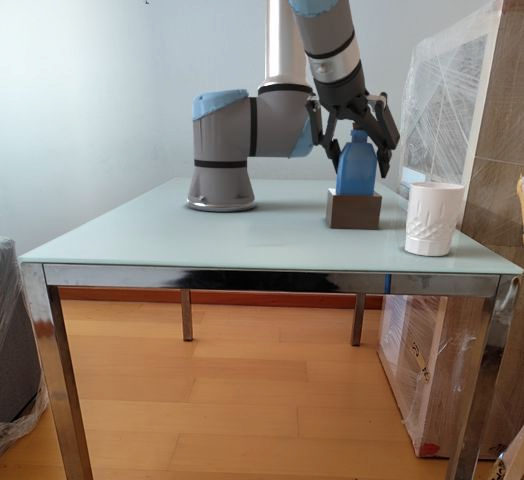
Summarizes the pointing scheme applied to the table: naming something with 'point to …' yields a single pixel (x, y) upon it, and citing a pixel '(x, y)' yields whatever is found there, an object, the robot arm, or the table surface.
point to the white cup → (432, 217)
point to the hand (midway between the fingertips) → (362, 170)
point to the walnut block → (353, 210)
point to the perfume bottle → (357, 165)
